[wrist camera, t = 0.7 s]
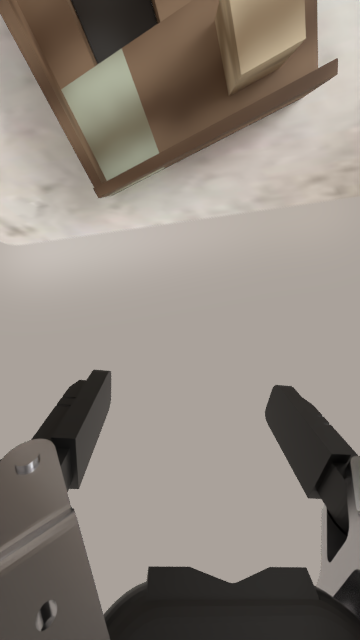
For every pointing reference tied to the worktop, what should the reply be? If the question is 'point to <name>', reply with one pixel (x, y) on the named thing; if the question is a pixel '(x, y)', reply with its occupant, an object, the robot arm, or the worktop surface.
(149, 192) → the worktop surface
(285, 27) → the maple block
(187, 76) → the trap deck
